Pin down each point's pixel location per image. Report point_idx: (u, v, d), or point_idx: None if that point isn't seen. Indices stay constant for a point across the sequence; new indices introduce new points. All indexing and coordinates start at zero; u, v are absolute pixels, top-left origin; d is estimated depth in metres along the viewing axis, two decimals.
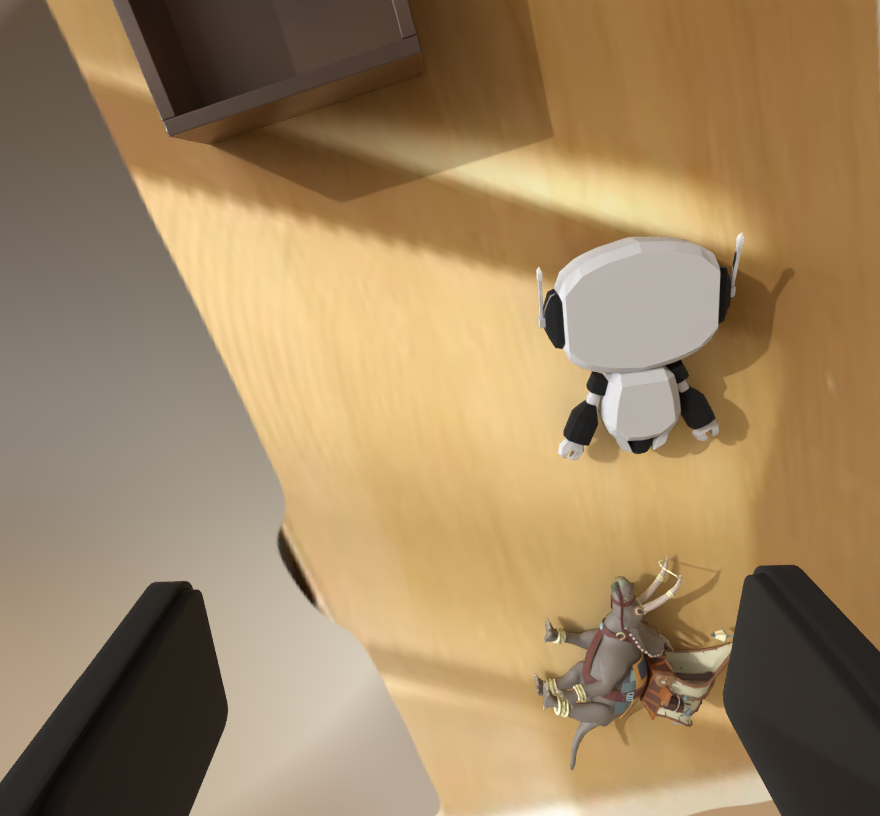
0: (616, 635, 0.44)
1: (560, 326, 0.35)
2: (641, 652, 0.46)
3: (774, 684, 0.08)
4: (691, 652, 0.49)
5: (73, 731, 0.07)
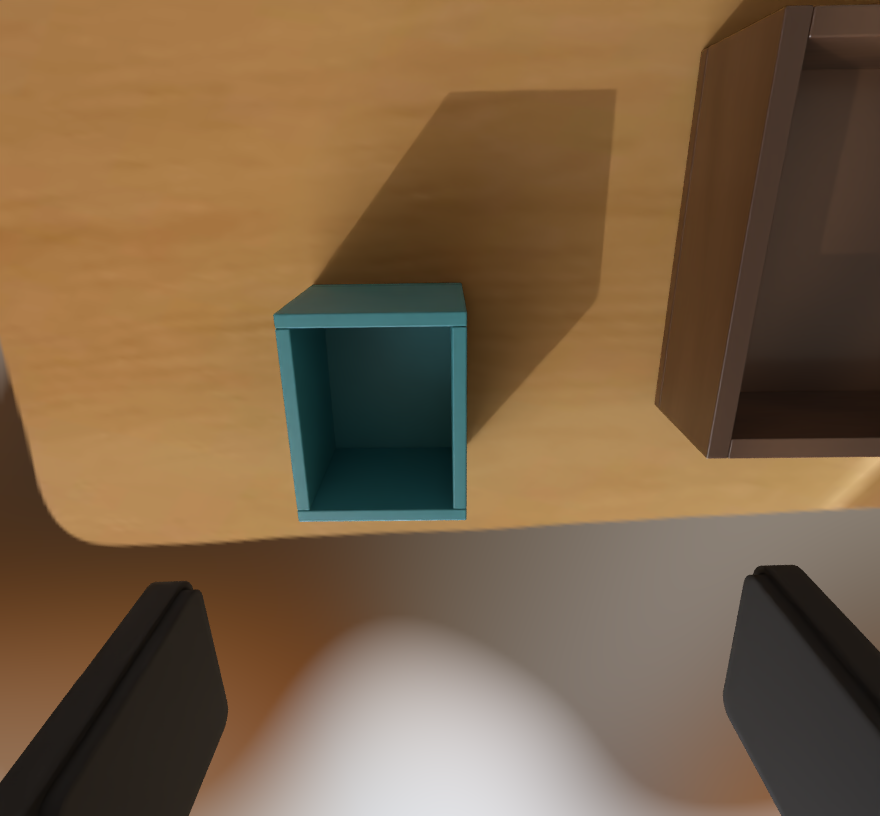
0: None
1: None
2: None
3: (774, 684, 0.08)
4: None
5: (73, 731, 0.07)
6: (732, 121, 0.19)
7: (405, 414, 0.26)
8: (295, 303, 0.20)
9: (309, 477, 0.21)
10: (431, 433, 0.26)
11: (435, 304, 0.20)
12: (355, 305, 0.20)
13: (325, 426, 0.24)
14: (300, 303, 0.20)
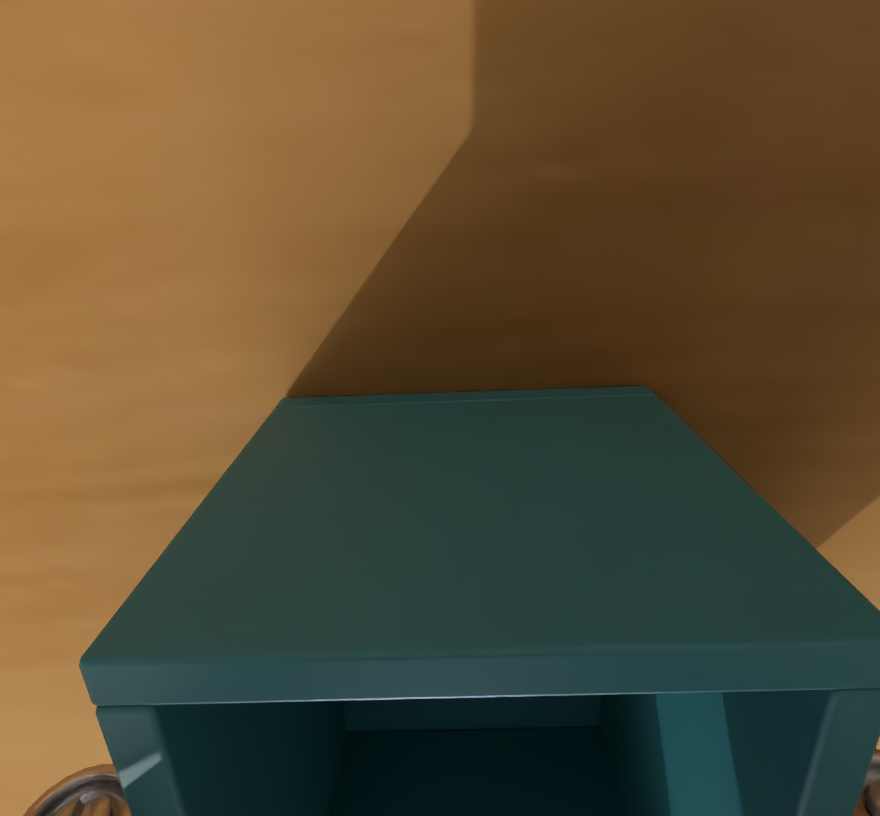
0: None
1: None
2: None
3: None
4: None
5: None
6: None
7: None
8: (204, 532, 0.06)
9: None
10: (556, 702, 0.12)
11: (702, 546, 0.05)
12: (411, 555, 0.05)
13: (321, 741, 0.10)
14: (221, 532, 0.06)
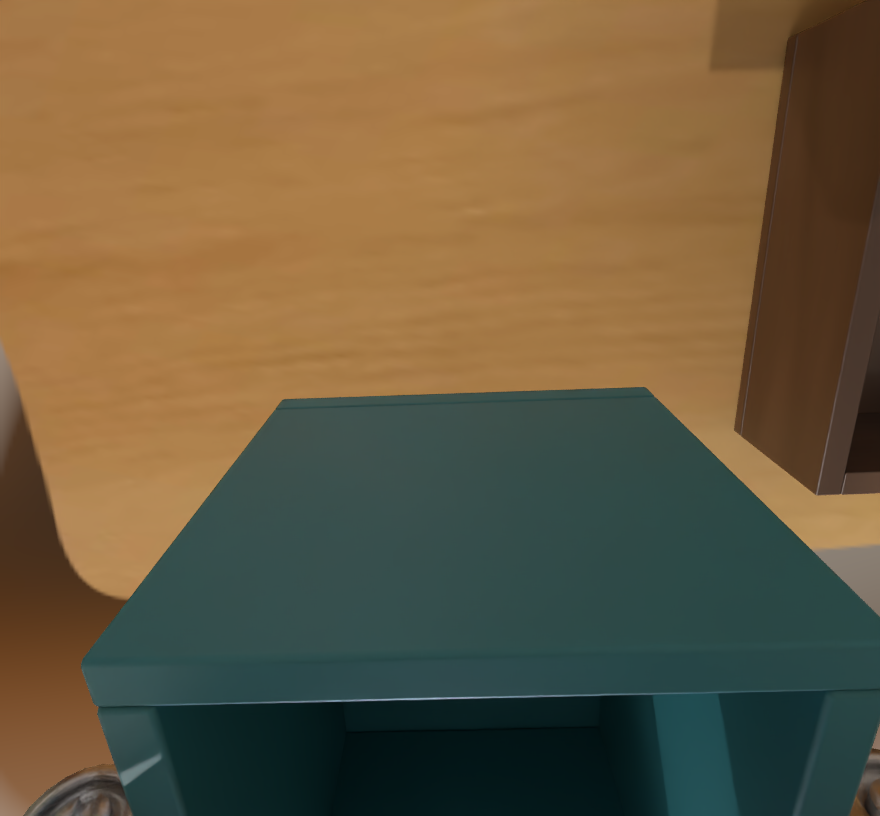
0: None
1: None
2: None
3: None
4: None
5: None
6: (839, 113, 0.16)
7: None
8: (205, 534, 0.06)
9: None
10: (556, 702, 0.12)
11: (699, 548, 0.05)
12: (411, 557, 0.05)
13: (321, 741, 0.10)
14: (221, 533, 0.06)
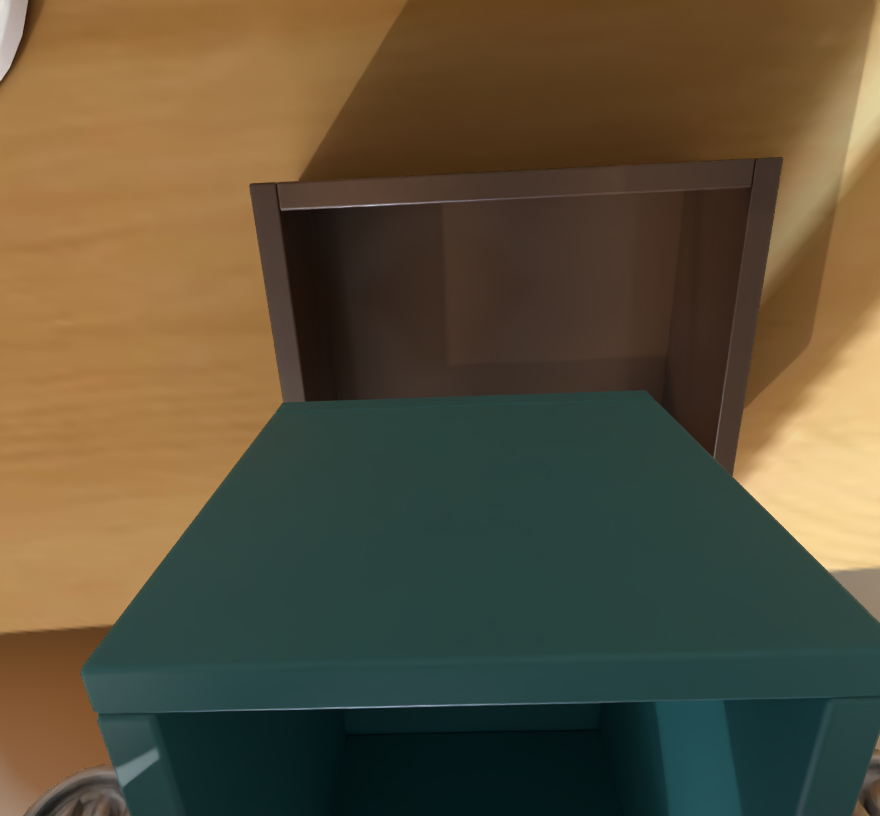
0: None
1: None
2: None
3: None
4: None
5: None
6: None
7: None
8: (205, 539, 0.06)
9: None
10: (556, 705, 0.12)
11: (700, 554, 0.05)
12: (411, 563, 0.05)
13: (321, 744, 0.10)
14: (221, 539, 0.06)
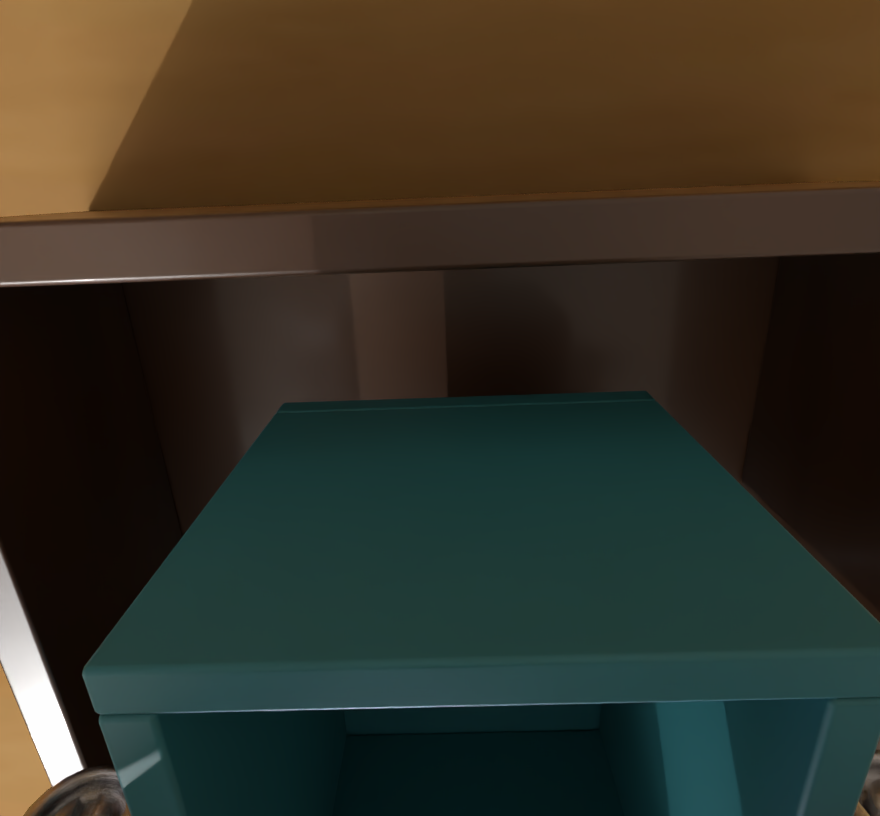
0: None
1: None
2: None
3: None
4: None
5: None
6: None
7: None
8: (206, 539, 0.06)
9: None
10: (556, 705, 0.12)
11: (701, 554, 0.05)
12: (412, 563, 0.05)
13: (321, 745, 0.10)
14: (222, 539, 0.06)
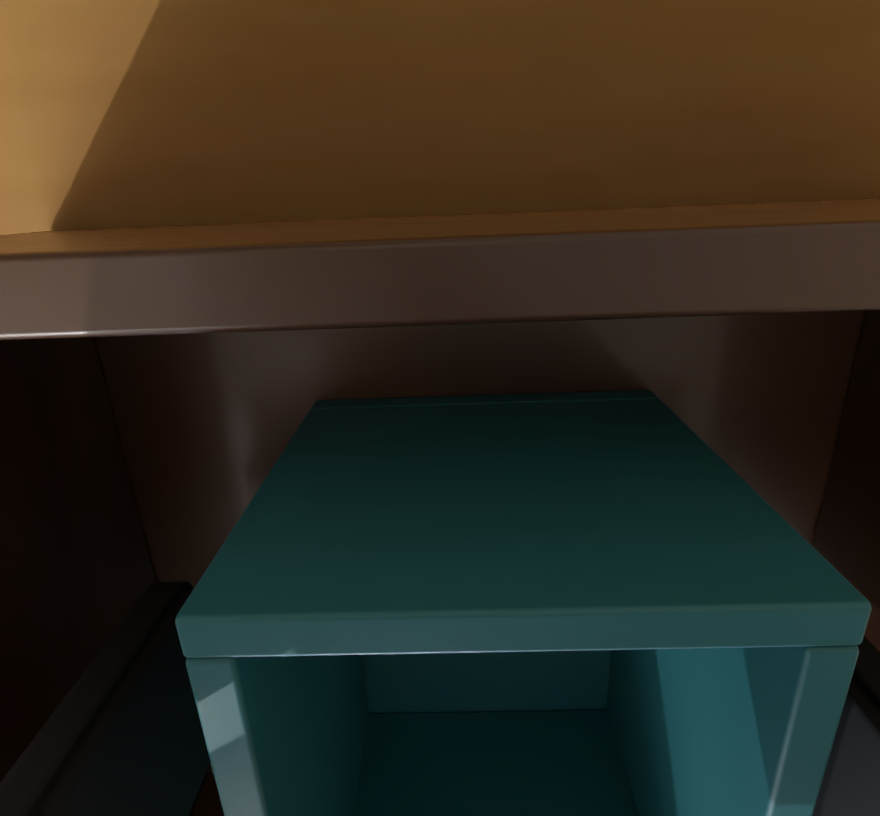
0: None
1: None
2: None
3: None
4: None
5: (73, 731, 0.07)
6: None
7: (513, 652, 0.12)
8: (263, 517, 0.07)
9: None
10: (566, 686, 0.13)
11: (699, 529, 0.06)
12: (447, 536, 0.06)
13: (349, 717, 0.11)
14: (278, 516, 0.07)
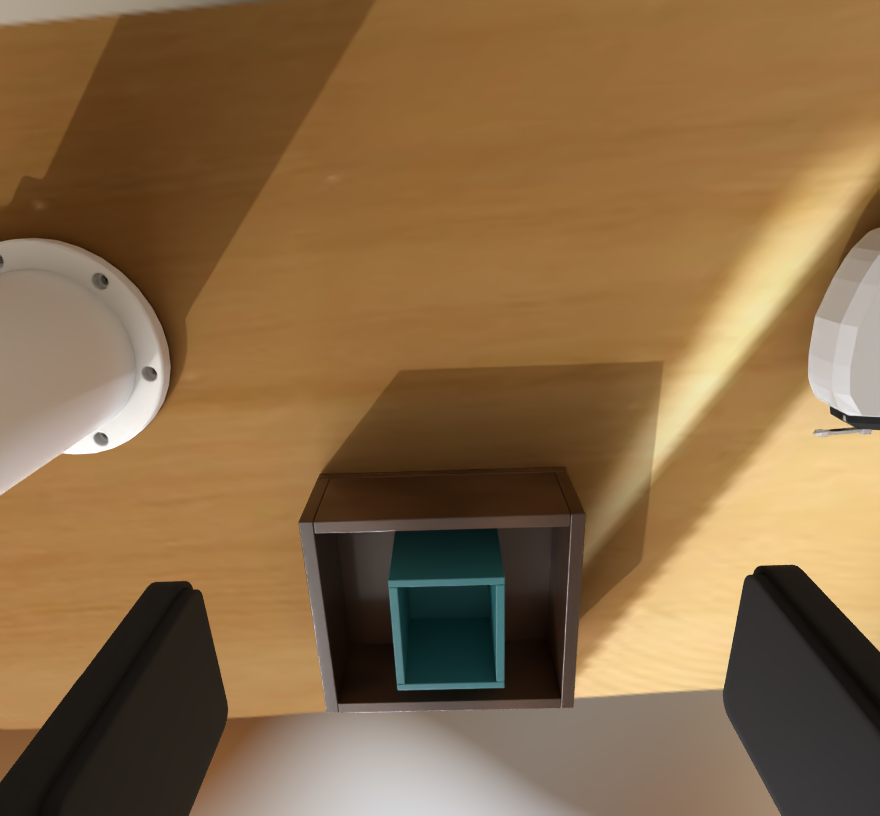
0: None
1: None
2: None
3: (774, 684, 0.08)
4: None
5: (73, 731, 0.07)
6: None
7: (457, 597, 0.38)
8: (396, 560, 0.32)
9: (404, 662, 0.34)
10: (475, 608, 0.38)
11: (484, 563, 0.32)
12: (434, 565, 0.32)
13: (407, 614, 0.36)
14: (399, 560, 0.32)
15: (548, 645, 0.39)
